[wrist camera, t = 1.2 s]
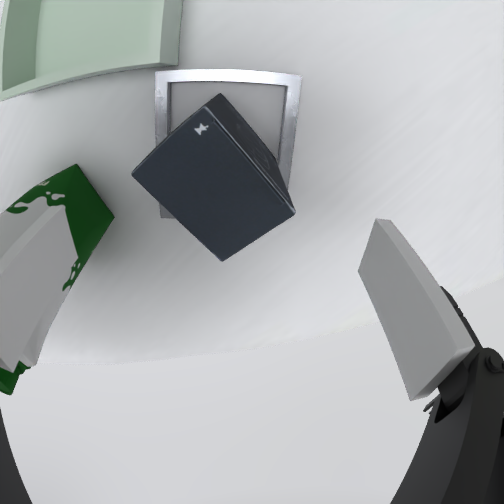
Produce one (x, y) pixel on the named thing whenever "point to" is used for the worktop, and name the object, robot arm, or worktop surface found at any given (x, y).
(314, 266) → the worktop surface
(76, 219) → the milk carton
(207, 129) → the box
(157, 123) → the collar
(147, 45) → the bin
